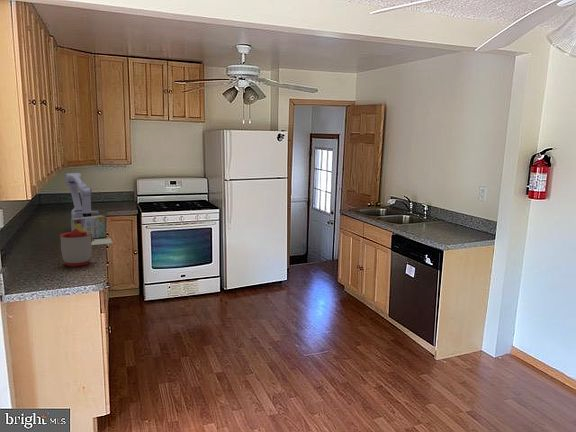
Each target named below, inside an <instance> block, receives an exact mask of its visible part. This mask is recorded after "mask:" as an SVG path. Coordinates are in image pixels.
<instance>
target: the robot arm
mask: <svg viewBox="0 0 576 432" xmlns="http://www.w3.org/2000/svg"><path fill="white" fill-rule="evenodd" d="M82 177H83V176H82V174H81V173H80V172H77V173H76V172H74V173H71V172H70V173H65V177H64V178H65V184H66V186H67V187H69V190H70V194H71V199H72V202H73V203H72V204H73V209H71V212H70V213H71V216H70V217H71V219H73V218H82V217H91V216H92V215H93V214H94V215H96V214H97V215H99V210H92V200H91V199H92V197H91V196H92V195H93V194H92V193H93V191H92V188H91V187H88V185H87V184H86V183H85V182H83V181H82V179H83V178H82Z"/></svg>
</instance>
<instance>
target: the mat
mask: <svg viewBox="0 0 576 432" xmlns="http://www.w3.org/2000/svg"><path fill="white" fill-rule="evenodd" d="M110 244H111V245H112V244H114V242H113V240H112V239H111V238H95V239H94V241H92V242H91V246H98V245H99V246H100V245H110Z"/></svg>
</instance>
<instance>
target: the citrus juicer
mask: <svg viewBox="0 0 576 432" xmlns="http://www.w3.org/2000/svg"><path fill="white" fill-rule="evenodd" d="M59 236H60V238H59V239H60V250H61V251H60V253H61V256H62V260H63V262H64V264H65V266H66V267H67V266H68V267H72V268H75V267H82V266H86V265H88V264H89V263H90V261H91V257H92V247H93V245H91V242H92V241H94V239H92V235H91V234H89V235H87V232H84V231H79V230H77V229H74V230H73V231H72V230H71V231H68V232H63V233H61V234H60V235H59Z"/></svg>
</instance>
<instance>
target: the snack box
mask: <svg viewBox="0 0 576 432" xmlns="http://www.w3.org/2000/svg"><path fill="white" fill-rule="evenodd" d="M70 226H71V228H70V229H71V232H72V231H73V230H74V229H77V230H79V231H84V232H87V235H89V234H91V235H92V239H102V238H105V237H106V236H107V235H106V234H107V233H106V220H105V215H93V216H92V215H91V217H82V218H73V219H72V218H71V219H70Z"/></svg>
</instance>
